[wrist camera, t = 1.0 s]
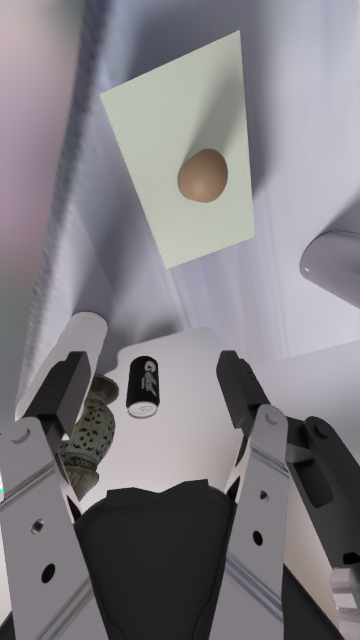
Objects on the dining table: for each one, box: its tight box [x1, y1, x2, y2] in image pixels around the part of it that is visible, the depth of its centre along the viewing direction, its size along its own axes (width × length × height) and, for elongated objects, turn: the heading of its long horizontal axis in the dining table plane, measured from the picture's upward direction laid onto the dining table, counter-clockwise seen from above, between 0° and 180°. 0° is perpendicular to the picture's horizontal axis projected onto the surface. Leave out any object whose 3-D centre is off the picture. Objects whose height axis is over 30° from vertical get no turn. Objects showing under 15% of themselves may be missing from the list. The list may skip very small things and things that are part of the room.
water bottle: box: [0, 312, 108, 493], centre depth 27 cm, size 7×7×25 cm
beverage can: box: [126, 356, 160, 419], centre depth 41 cm, size 7×7×12 cm
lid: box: [99, 30, 255, 269], centre depth 19 cm, size 13×17×8 cm
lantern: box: [58, 374, 119, 502], centre depth 38 cm, size 14×14×25 cm
